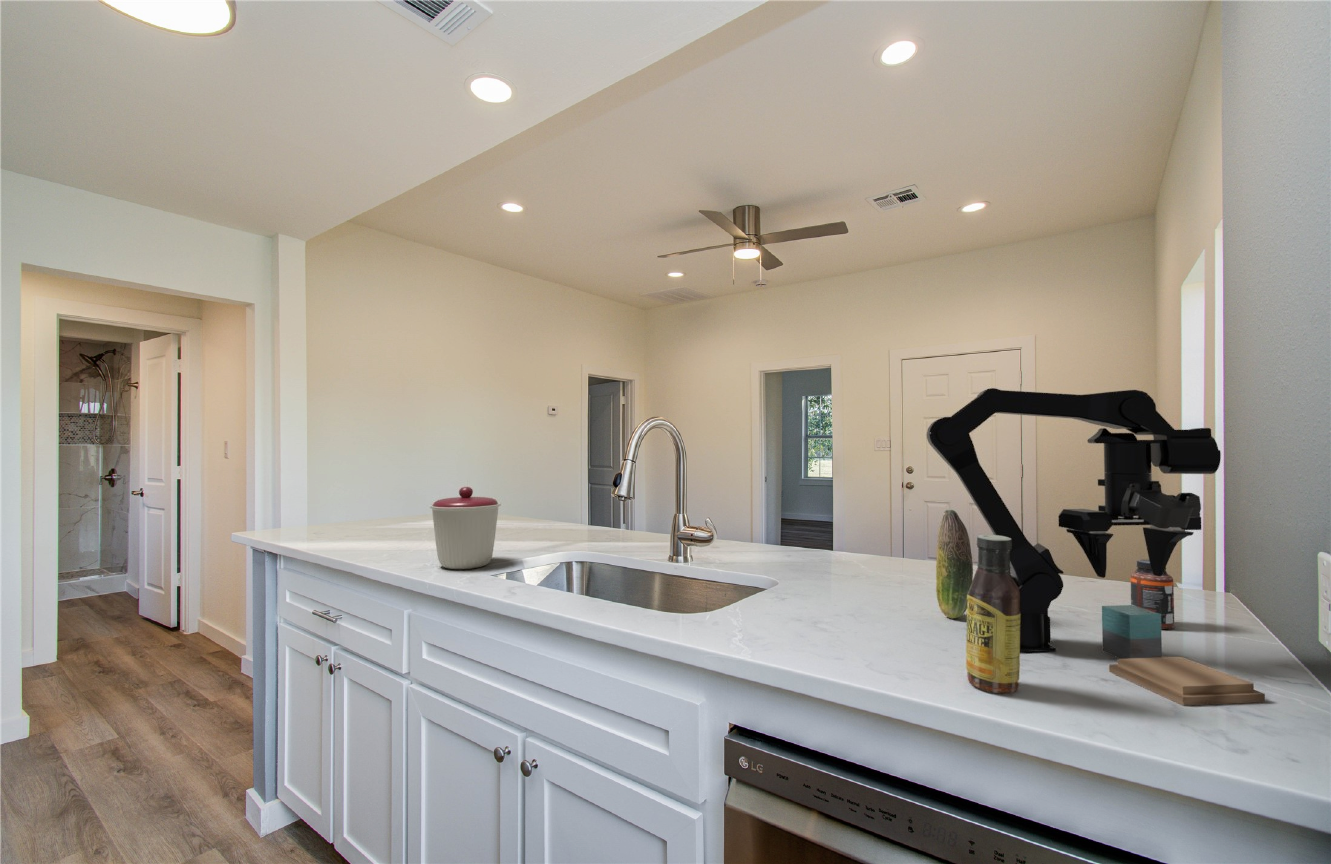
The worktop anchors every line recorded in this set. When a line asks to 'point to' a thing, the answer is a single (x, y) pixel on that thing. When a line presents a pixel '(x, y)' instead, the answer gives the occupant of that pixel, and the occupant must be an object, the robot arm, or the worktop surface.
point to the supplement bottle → (1153, 592)
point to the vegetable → (953, 565)
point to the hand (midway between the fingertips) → (1129, 576)
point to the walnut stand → (1186, 681)
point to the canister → (465, 530)
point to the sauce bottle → (993, 619)
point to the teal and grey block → (1131, 632)
